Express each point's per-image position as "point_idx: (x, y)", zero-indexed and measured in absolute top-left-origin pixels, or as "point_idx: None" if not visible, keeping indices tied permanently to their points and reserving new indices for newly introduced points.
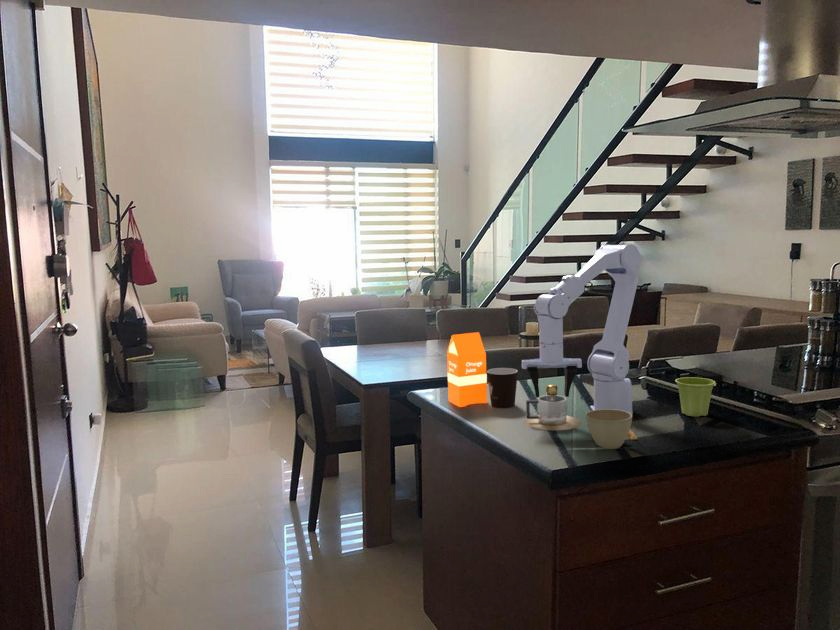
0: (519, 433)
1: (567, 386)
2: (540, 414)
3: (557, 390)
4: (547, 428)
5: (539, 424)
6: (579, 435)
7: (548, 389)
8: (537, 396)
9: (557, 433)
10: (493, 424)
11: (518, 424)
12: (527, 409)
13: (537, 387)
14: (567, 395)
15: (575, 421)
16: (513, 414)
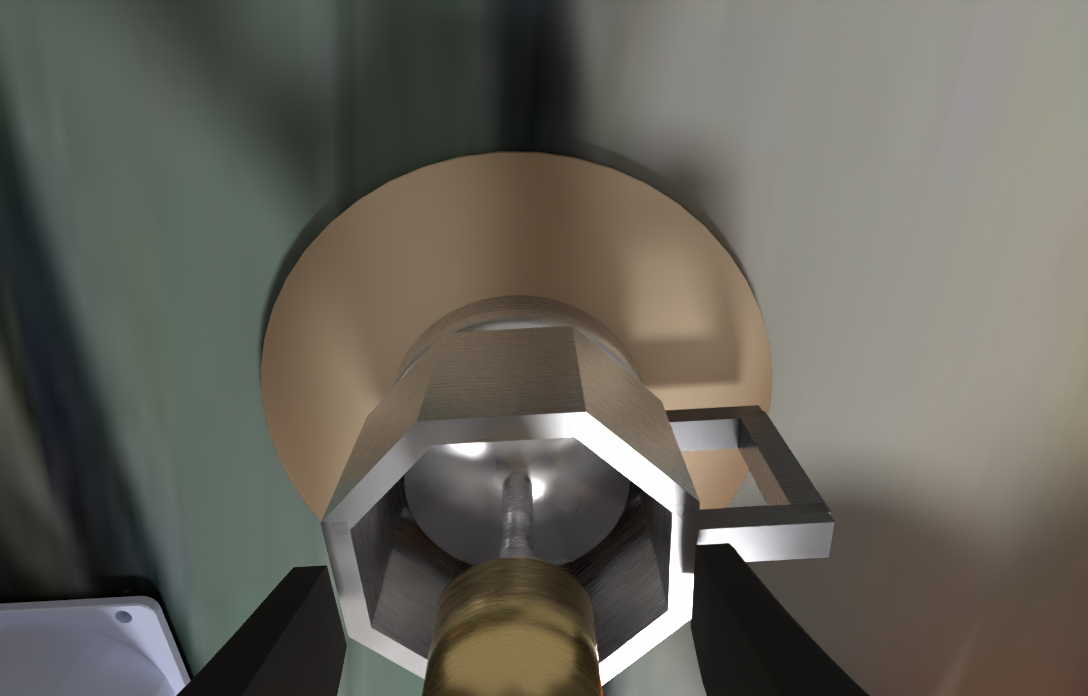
0: (876, 101)
1: (239, 683)
2: (648, 392)
3: (429, 652)
4: (583, 212)
5: (643, 341)
6: (263, 16)
7: (572, 645)
8: (723, 551)
9: (492, 96)
10: (1034, 386)
11: (817, 384)
12: (788, 460)
13: (775, 646)
14: (298, 578)
15: (312, 423)
16: (798, 622)
